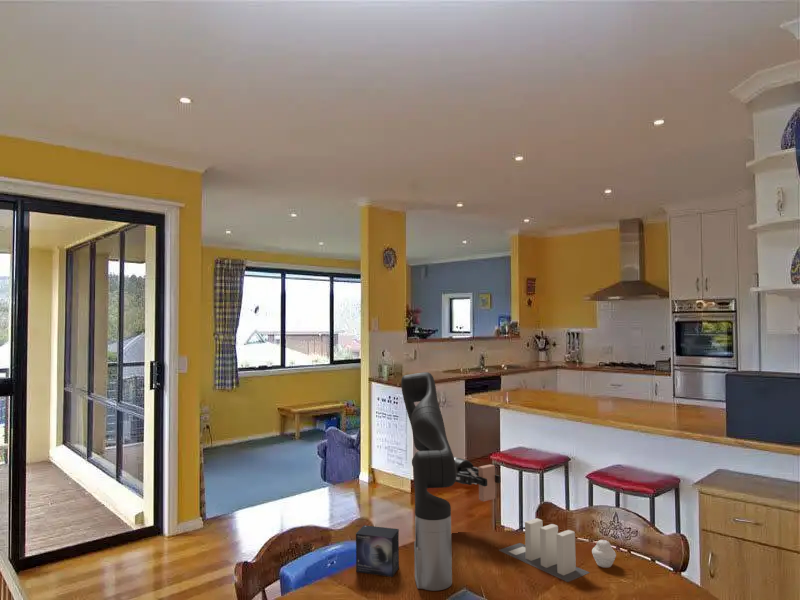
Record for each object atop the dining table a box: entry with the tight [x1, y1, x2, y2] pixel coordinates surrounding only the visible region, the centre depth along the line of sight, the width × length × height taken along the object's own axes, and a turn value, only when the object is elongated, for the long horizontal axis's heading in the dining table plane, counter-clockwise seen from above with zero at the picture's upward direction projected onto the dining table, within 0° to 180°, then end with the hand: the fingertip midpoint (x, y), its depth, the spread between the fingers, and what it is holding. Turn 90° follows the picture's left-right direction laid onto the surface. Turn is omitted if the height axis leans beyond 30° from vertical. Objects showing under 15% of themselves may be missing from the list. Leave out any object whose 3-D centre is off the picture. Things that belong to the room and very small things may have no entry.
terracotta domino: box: [478, 464, 496, 502], centre depth 170 cm, size 2×5×10 cm, turn 124°
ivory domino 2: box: [540, 523, 559, 568], centre depth 150 cm, size 2×5×10 cm, turn 125°
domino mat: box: [498, 542, 591, 583], centre depth 152 cm, size 24×9×1 cm, turn 35°
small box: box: [355, 524, 400, 578], centre depth 149 cm, size 11×6×10 cm, turn 73°
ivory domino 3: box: [556, 529, 577, 575], centre depth 146 cm, size 2×5×10 cm, turn 125°
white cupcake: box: [591, 539, 617, 568], centre depth 150 cm, size 6×6×7 cm
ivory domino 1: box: [524, 517, 544, 561], centre depth 155 cm, size 2×5×10 cm, turn 125°
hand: (493, 481), depth 168 cm, fingers closed on terracotta domino, 5 cm apart
